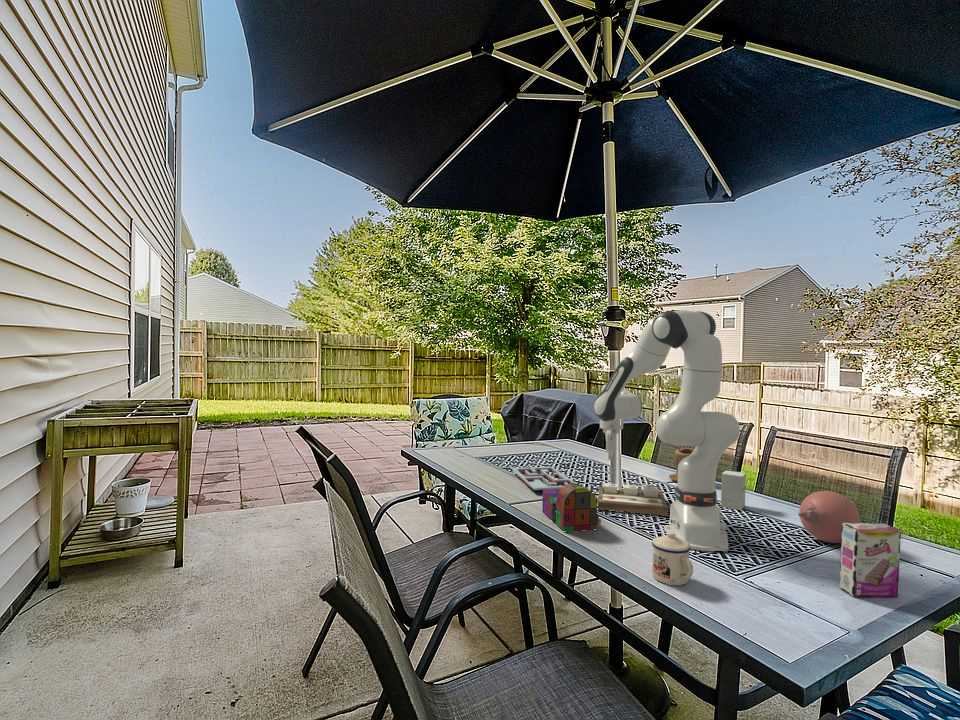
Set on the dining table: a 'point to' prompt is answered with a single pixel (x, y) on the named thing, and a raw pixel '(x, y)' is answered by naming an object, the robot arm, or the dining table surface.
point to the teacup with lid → (671, 560)
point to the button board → (632, 502)
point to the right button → (650, 491)
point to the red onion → (827, 515)
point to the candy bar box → (870, 560)
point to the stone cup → (678, 457)
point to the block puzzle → (571, 507)
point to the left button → (610, 488)
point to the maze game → (542, 478)
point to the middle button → (630, 490)
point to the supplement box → (733, 490)
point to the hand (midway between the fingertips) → (610, 459)
